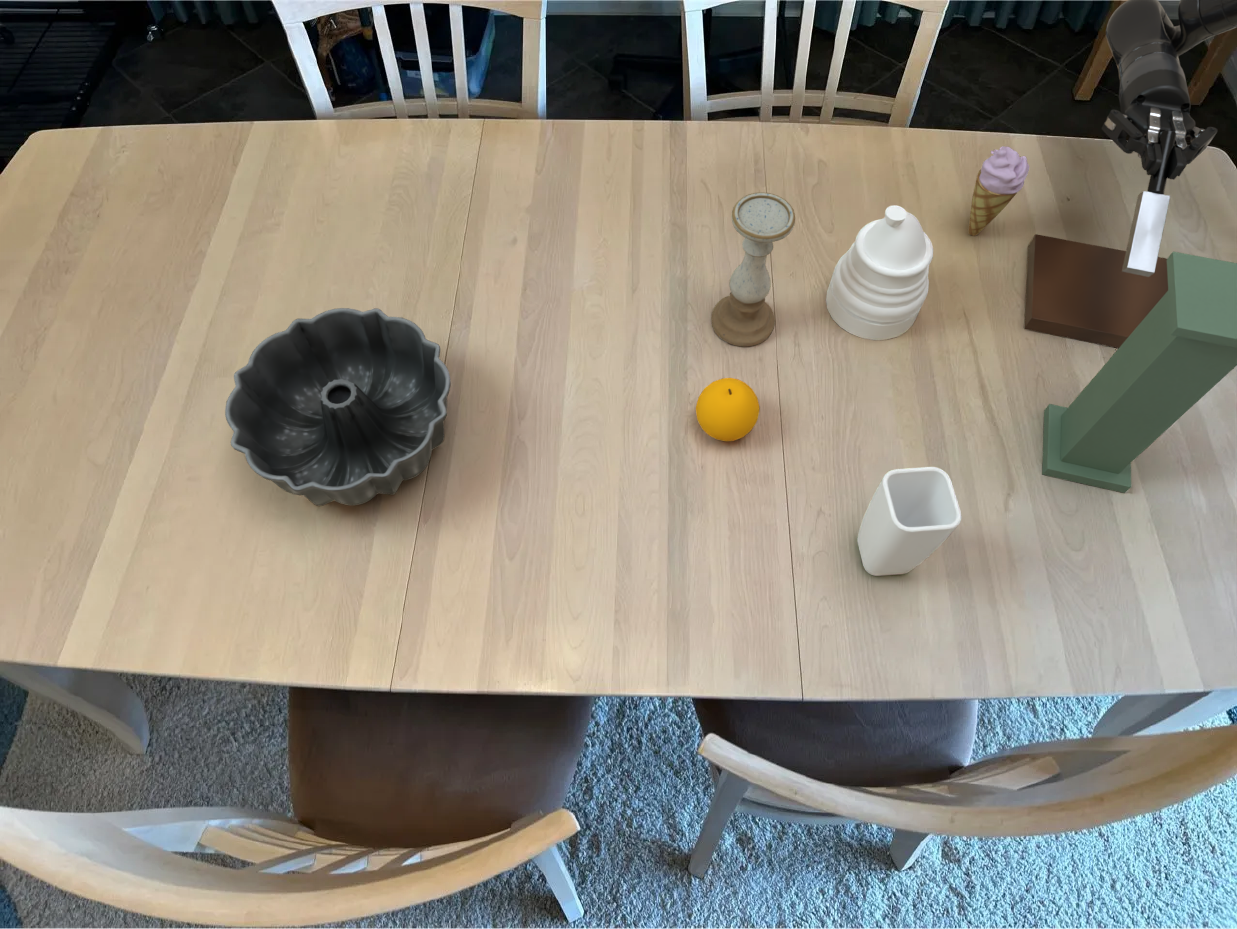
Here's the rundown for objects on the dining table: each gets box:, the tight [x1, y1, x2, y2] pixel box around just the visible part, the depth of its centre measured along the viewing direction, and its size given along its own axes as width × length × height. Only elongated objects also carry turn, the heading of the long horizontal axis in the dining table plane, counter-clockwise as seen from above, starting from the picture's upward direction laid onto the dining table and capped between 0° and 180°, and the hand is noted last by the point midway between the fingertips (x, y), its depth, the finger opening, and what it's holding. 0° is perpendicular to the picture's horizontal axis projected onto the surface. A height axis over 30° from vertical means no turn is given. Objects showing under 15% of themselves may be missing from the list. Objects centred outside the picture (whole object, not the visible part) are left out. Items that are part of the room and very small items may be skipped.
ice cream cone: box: [967, 145, 1030, 237], centre depth 119 cm, size 7×6×15 cm
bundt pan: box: [224, 307, 452, 507], centre depth 104 cm, size 26×26×10 cm
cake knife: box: [1122, 130, 1176, 277], centre depth 103 cm, size 3×18×2 cm, turn 164°
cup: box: [856, 466, 962, 577], centre depth 94 cm, size 7×7×15 cm
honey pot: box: [825, 204, 934, 341], centre depth 111 cm, size 13×13×18 cm
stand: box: [1041, 251, 1237, 494], centre depth 94 cm, size 10×10×30 cm
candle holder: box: [710, 191, 796, 347], centre depth 108 cm, size 9×9×20 cm
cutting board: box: [1023, 233, 1168, 349], centre depth 118 cm, size 20×16×2 cm
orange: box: [695, 377, 761, 442], centre depth 106 cm, size 8×8×8 cm
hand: (1165, 170), depth 101 cm, fingers closed on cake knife, 2 cm apart
